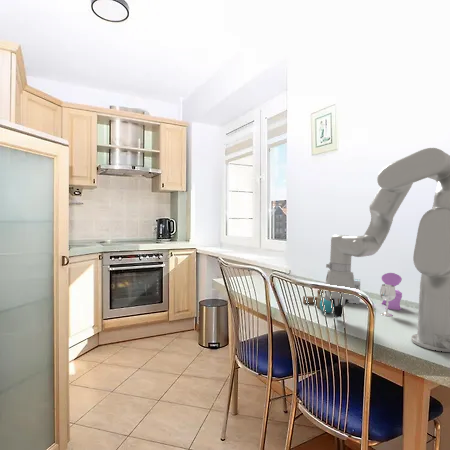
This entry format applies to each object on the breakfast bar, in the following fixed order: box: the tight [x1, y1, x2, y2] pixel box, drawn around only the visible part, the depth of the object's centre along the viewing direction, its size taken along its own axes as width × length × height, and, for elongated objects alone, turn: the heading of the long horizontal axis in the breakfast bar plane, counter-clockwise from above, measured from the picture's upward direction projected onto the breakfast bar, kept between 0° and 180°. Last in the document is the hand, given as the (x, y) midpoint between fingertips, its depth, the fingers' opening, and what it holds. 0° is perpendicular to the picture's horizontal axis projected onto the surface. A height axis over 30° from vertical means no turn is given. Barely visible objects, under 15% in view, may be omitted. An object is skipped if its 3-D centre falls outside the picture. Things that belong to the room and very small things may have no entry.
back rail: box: [302, 295, 340, 305], centre depth 149 cm, size 2×16×3 cm, turn 89°
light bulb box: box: [348, 278, 361, 305], centre depth 156 cm, size 11×7×11 cm, turn 69°
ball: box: [320, 299, 334, 314], centre depth 135 cm, size 6×6×6 cm
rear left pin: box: [316, 289, 325, 310], centre depth 143 cm, size 2×2×8 cm
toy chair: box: [381, 272, 403, 311], centre depth 149 cm, size 8×9×15 cm
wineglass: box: [379, 283, 396, 317], centre depth 136 cm, size 6×6×12 cm
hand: (337, 315), depth 126 cm, fingers closed
